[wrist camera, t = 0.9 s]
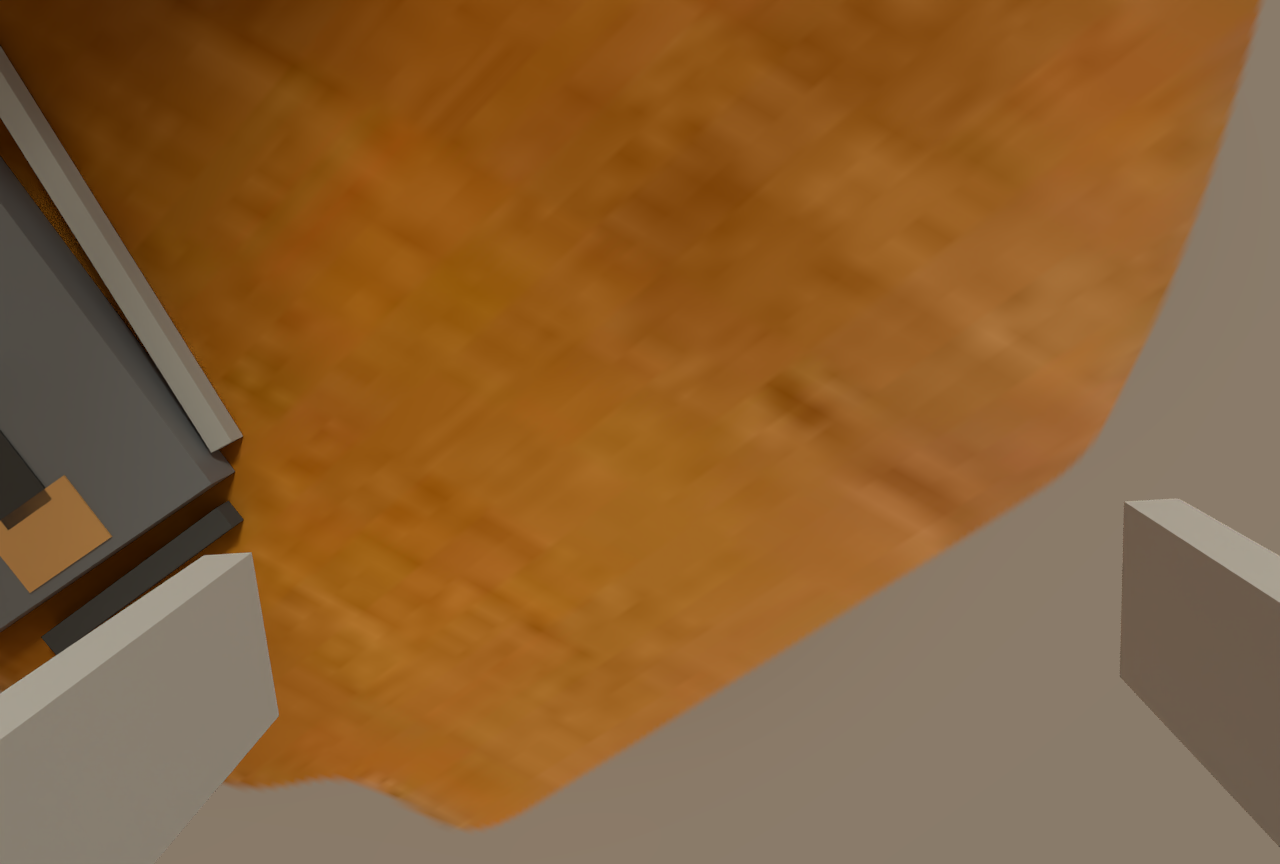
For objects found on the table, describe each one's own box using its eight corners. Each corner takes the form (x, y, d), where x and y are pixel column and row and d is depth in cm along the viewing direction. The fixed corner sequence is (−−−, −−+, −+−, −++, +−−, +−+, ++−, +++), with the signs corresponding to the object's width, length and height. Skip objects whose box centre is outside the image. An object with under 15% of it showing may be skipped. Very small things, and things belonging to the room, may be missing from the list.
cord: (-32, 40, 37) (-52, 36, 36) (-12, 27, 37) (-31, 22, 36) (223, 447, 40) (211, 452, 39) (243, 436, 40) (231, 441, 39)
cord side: (56, 627, 42) (40, 637, 41) (228, 500, 41) (217, 507, 40) (71, 645, 42) (56, 655, 41) (243, 519, 41) (232, 526, 40)
